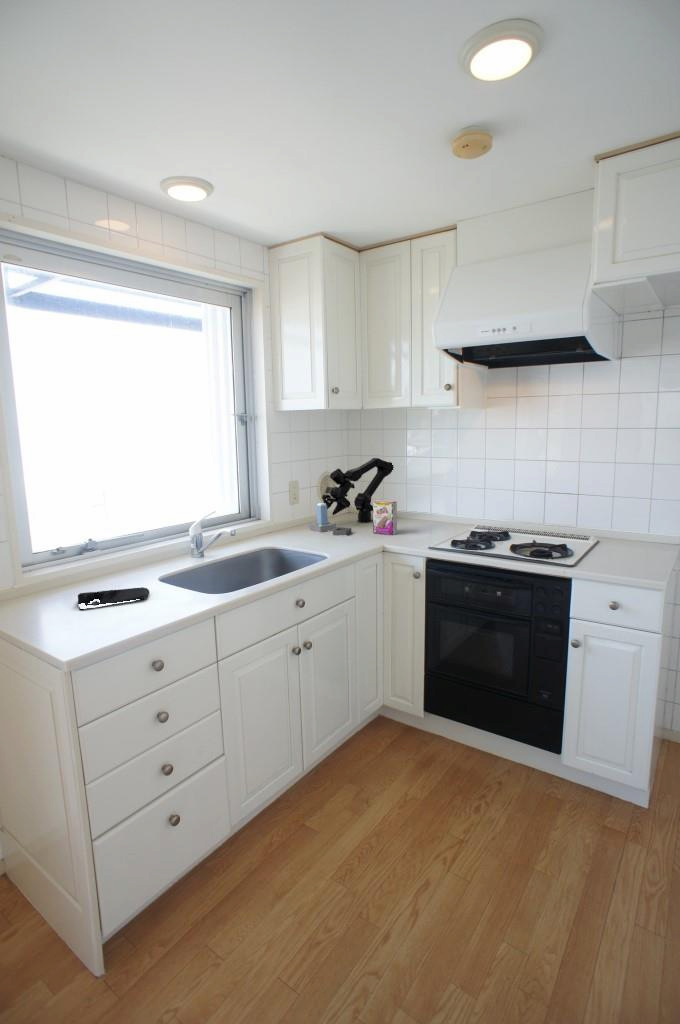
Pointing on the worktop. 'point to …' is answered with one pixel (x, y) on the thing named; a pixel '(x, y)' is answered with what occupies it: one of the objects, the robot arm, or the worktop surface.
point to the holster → (341, 531)
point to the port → (322, 527)
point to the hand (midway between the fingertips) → (327, 513)
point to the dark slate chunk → (113, 595)
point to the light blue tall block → (322, 514)
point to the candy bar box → (385, 517)
